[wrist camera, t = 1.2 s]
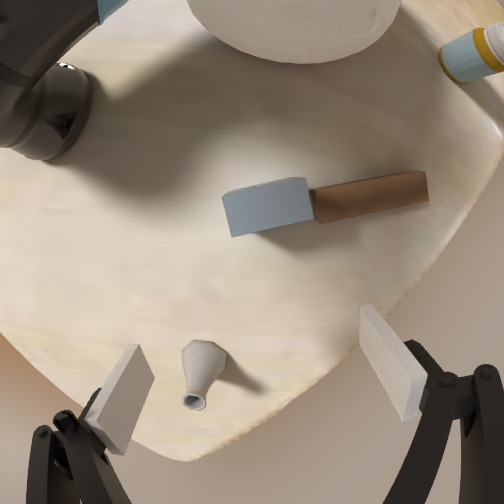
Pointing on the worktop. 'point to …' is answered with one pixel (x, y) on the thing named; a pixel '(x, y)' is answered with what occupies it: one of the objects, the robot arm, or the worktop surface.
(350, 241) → the worktop surface
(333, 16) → the pot
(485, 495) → the robot arm
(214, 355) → the flask
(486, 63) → the bottle
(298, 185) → the slab
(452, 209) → the worktop surface
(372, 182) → the block
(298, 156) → the worktop surface
